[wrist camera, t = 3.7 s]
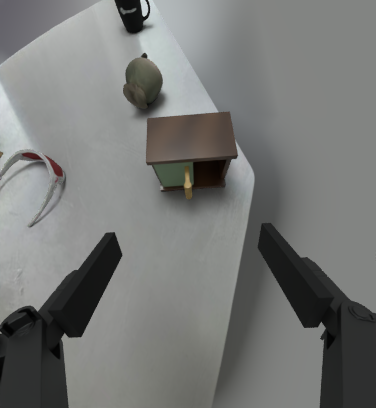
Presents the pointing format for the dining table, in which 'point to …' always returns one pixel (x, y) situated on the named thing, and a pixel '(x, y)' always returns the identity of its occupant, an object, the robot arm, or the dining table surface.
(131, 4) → the mug
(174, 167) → the sliding door
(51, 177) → the sunglasses
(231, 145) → the cupboard
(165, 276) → the dining table surface
